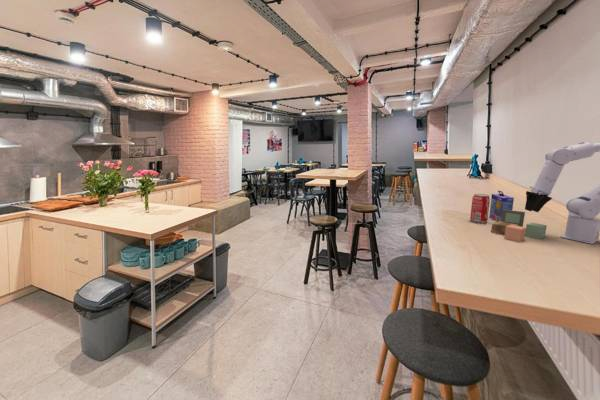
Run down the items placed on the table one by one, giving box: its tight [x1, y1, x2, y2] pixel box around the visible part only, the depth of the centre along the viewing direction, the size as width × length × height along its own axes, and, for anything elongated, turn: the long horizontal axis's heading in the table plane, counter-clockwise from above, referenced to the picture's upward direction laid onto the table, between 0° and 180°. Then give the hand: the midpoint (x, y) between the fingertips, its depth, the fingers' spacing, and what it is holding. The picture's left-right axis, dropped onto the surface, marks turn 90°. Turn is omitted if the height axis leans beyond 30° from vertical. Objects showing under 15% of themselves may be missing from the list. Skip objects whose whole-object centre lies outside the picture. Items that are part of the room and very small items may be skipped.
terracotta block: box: [503, 225, 526, 243], centre depth 113 cm, size 5×5×5 cm
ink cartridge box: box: [488, 190, 515, 222], centre depth 141 cm, size 10×6×14 cm, turn 174°
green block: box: [525, 222, 547, 240], centre depth 117 cm, size 5×5×5 cm
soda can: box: [470, 193, 491, 224], centre depth 138 cm, size 7×7×13 cm
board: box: [501, 209, 526, 227], centre depth 129 cm, size 5×8×8 cm, turn 51°
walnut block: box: [490, 221, 518, 236], centre depth 122 cm, size 7×7×4 cm
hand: (531, 210), depth 118 cm, fingers open, 7 cm apart
